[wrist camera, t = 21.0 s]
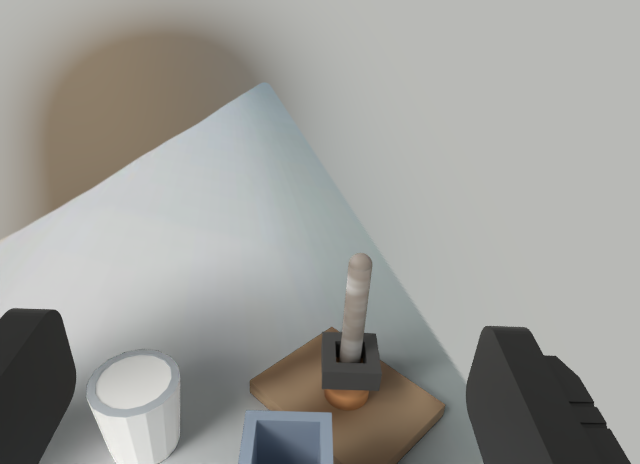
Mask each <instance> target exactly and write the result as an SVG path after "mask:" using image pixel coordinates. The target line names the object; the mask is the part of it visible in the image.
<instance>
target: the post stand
mask: <svg viewBox="0 0 640 464" xmlns="http://www.w3.org/2000/svg"><path fill="white" fill-rule="evenodd" d="M371 272H372V261H371V259H370V257H369V256H368V255H366V254H364V253H357V254H355V255H353V256H352V257H351V258H350V260H349V266H348V276H347V286H346V297H345V307H344V317H343V328H342V338H341V348H340V358H336V362H337V363H363V358H361V351H362V343H363V335H364V327H365V319H366V311H367V304H368V296H369V288H370V280H371ZM325 332H339V331H337V330H336V329H334V328H333V327H331V328H329V329H328V330H326V331H325ZM321 345H322V334H320V335H319V336H317V337H315V338H314V339H312V340H311V341H309V342H308V343H306V344H305V345H303V346H302V347H300V348H299V349H297V350H296V351H294V352H293V353H291V354H290V355H288V356H287V357H285V358H283V359H282V360H280V361H279V362H277V363H276V364H274V365H273V366H271V367H270V368H268V369H267V370H265V371H264V372H262V373H261V374H259V375H258V376H256V377H255V378H253V379H251V380H250V393H252V394H253V395H254V396H255V397H256V398H257V399H258V400H259V401H260V402H261V403H262V404H264V405H265V406H266V407H267V408H268V409H269V410H270V411H295V412H328V413H332V438H333V464H397V463H398V462H399V461H400V460H401V458H402V457H403V456H404V455H405V454H406V453H407V452H408V451H409V450H410V449H411V448H412V447H413V446H414V445H415V444H416V443H417V442H418V441H419V440H420V439H421V438H422V437H423V436H424V435H425V434H426V433H427V432H428V431H429V430H430V429H431V428H432V427H433V426H434V425H435V423H436V422H437V421H438V420H439V419H440V418H441V417H442V416H443V413H444V409H445V404H444V403H442V402H441V401H439V400H438V399H436V398H435V397H433V396H432V395H430V394H429V393H428V392H426V391H425V390H423V389H422V388H420V387H419V386H417V385H416V384H414V383H413V382H412V381H410V380H409V379H407V378H406V377H404V376H403V375H401V374H400V373H398V372H397V371H396V370H394V369H393V368H391V367H390V366H388V365H387V364H385V363H384V362H382V361H381V360H380V365H381V371H382V376H381V382H380V389H379V391H365V390H331V389H322V367H321Z"/></svg>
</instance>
